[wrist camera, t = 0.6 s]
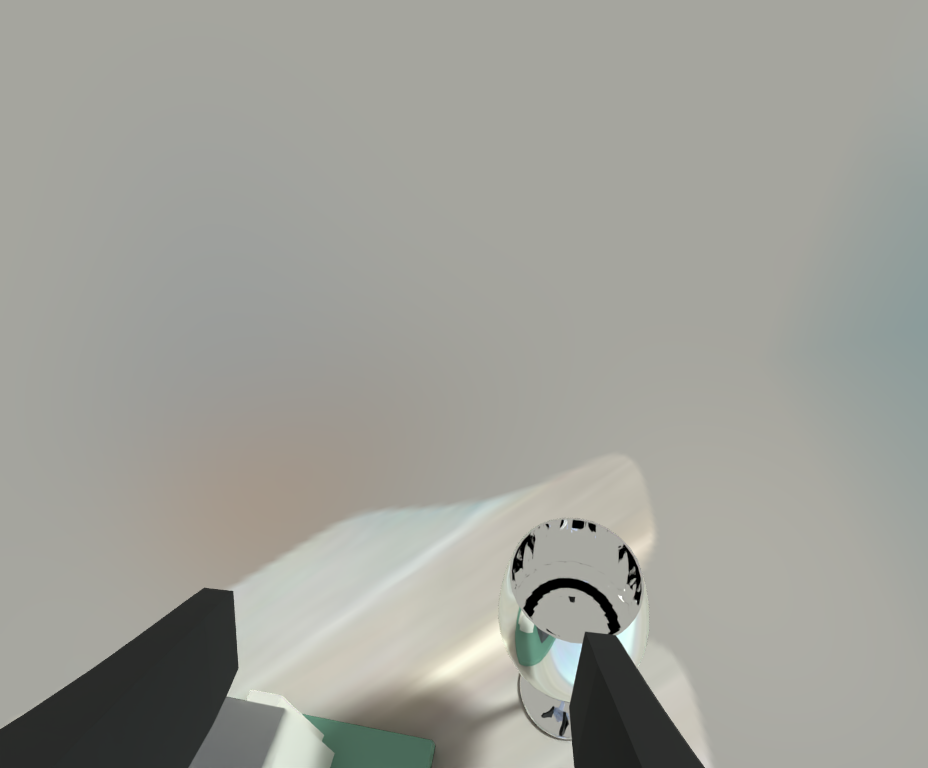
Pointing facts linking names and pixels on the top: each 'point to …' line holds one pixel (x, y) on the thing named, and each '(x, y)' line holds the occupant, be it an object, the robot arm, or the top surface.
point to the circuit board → (372, 746)
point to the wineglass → (567, 610)
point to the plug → (262, 736)
